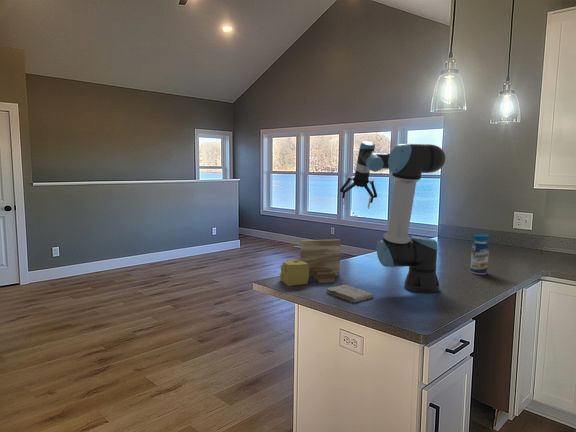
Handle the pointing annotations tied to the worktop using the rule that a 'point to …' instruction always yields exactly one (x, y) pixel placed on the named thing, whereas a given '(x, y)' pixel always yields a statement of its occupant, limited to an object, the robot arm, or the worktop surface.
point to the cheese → (294, 272)
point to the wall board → (321, 258)
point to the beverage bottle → (479, 254)
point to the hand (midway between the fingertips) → (356, 205)
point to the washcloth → (349, 293)
